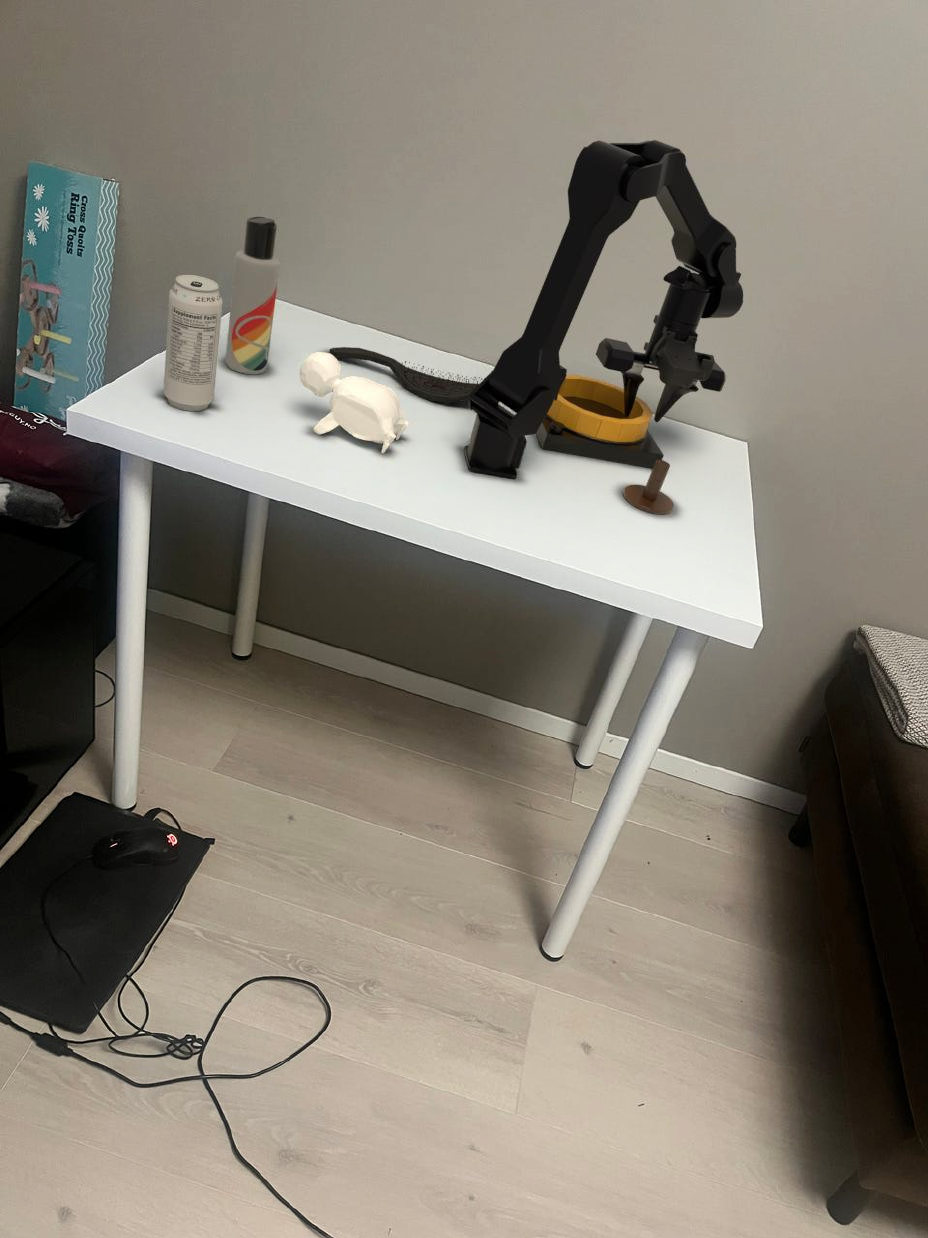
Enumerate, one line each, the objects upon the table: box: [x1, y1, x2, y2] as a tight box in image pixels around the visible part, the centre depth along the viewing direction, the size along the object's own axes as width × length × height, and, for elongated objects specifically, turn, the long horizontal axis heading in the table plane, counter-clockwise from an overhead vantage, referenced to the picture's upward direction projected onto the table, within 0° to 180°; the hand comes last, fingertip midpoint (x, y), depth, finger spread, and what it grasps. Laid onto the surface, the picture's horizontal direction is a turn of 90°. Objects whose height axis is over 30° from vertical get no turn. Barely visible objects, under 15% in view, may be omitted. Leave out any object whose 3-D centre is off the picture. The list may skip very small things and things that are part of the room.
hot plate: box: [535, 397, 665, 469], centre depth 138 cm, size 18×18×3 cm
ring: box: [547, 374, 653, 442], centre depth 136 cm, size 16×16×3 cm
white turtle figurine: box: [299, 351, 410, 454], centre depth 117 cm, size 8×8×15 cm
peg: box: [622, 459, 675, 516], centre depth 122 cm, size 7×7×6 cm
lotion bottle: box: [225, 216, 281, 375], centre depth 122 cm, size 6×6×20 cm
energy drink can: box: [163, 274, 224, 412], centre depth 110 cm, size 6×6×15 cm
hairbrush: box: [328, 346, 486, 404], centre depth 137 cm, size 8×4×25 cm
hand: (641, 418), depth 138 cm, fingers open, 4 cm apart
